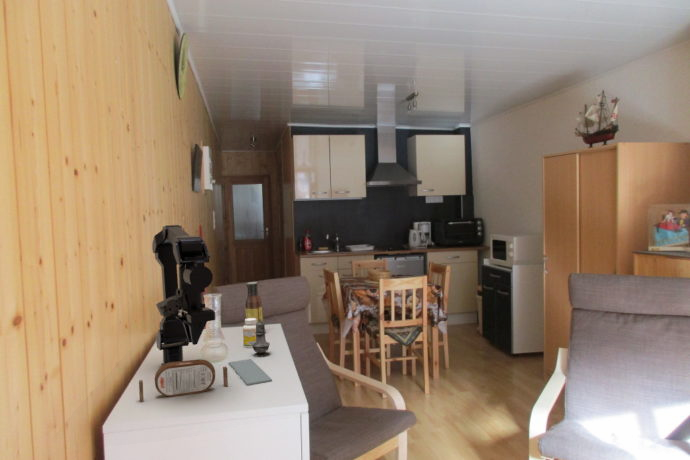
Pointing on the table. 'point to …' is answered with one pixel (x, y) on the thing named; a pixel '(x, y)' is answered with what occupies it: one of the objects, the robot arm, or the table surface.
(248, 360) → the mat
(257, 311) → the sauce bottle
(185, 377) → the tin
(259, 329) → the salt shaker
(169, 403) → the table surface
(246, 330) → the supplement bottle
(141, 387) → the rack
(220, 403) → the table surface
